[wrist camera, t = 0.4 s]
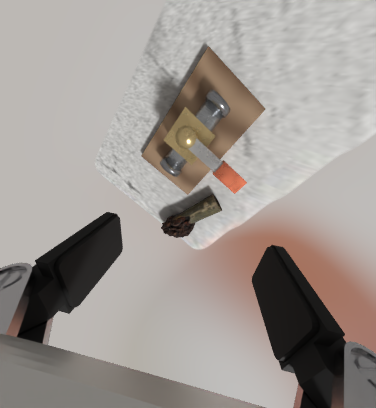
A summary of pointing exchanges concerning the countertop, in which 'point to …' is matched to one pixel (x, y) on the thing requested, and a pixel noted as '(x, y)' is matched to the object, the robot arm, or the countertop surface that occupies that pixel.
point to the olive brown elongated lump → (190, 217)
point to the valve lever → (209, 158)
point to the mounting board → (193, 100)
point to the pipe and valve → (201, 124)
